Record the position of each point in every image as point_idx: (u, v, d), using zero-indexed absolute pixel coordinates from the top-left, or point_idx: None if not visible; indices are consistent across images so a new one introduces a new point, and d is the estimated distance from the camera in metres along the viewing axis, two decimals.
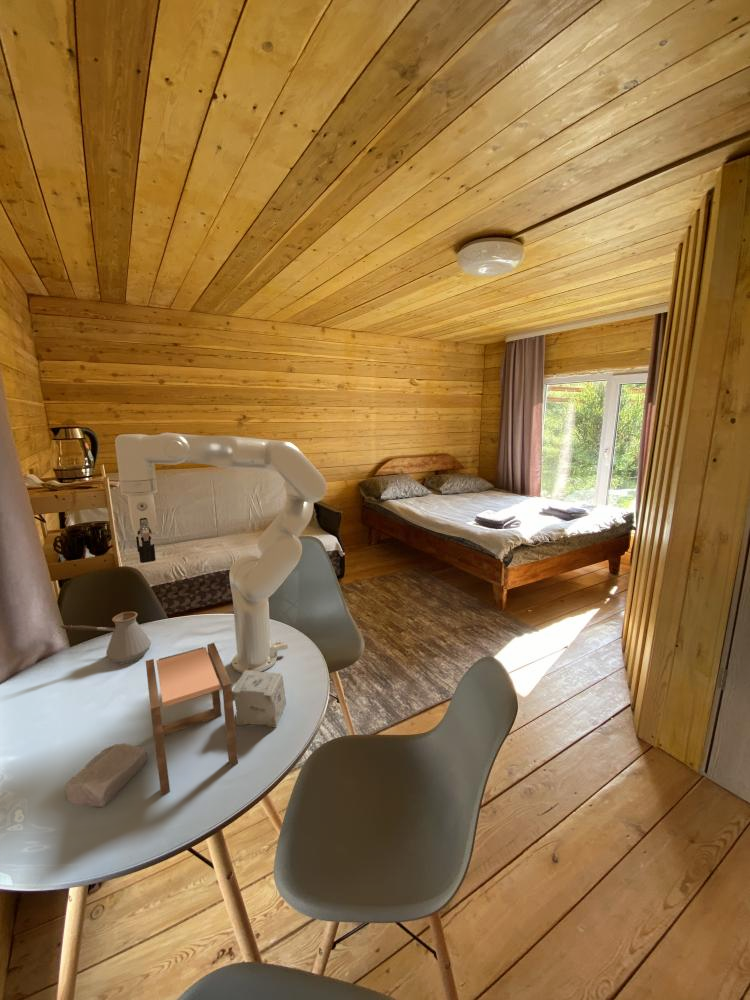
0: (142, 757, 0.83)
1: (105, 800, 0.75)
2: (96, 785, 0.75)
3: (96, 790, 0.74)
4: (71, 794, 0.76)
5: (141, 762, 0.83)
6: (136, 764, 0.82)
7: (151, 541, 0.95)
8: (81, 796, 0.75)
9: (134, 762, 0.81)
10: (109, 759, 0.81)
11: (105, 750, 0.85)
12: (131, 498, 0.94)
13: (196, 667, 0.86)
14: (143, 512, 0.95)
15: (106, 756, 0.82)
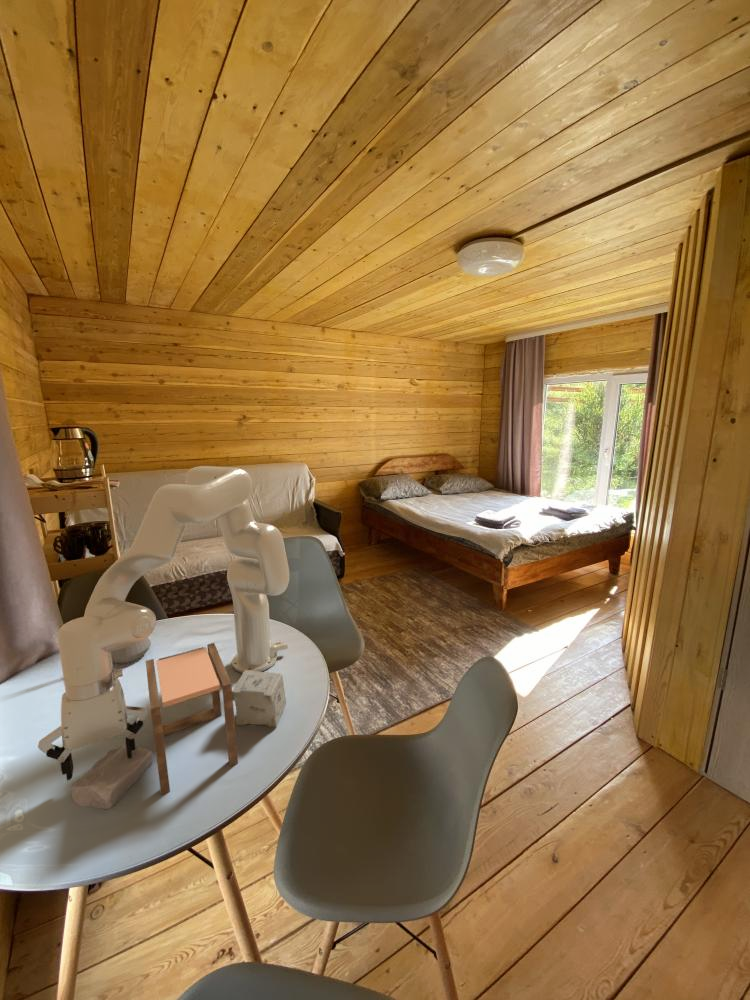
0: (148, 759, 0.83)
1: (111, 803, 0.75)
2: (103, 788, 0.75)
3: (103, 792, 0.74)
4: (77, 796, 0.75)
5: (147, 764, 0.83)
6: (142, 766, 0.82)
7: None
8: (87, 798, 0.75)
9: (140, 764, 0.81)
10: (115, 761, 0.81)
11: (111, 752, 0.84)
12: (115, 691, 0.78)
13: (196, 667, 0.86)
14: (124, 699, 0.81)
15: (112, 758, 0.82)
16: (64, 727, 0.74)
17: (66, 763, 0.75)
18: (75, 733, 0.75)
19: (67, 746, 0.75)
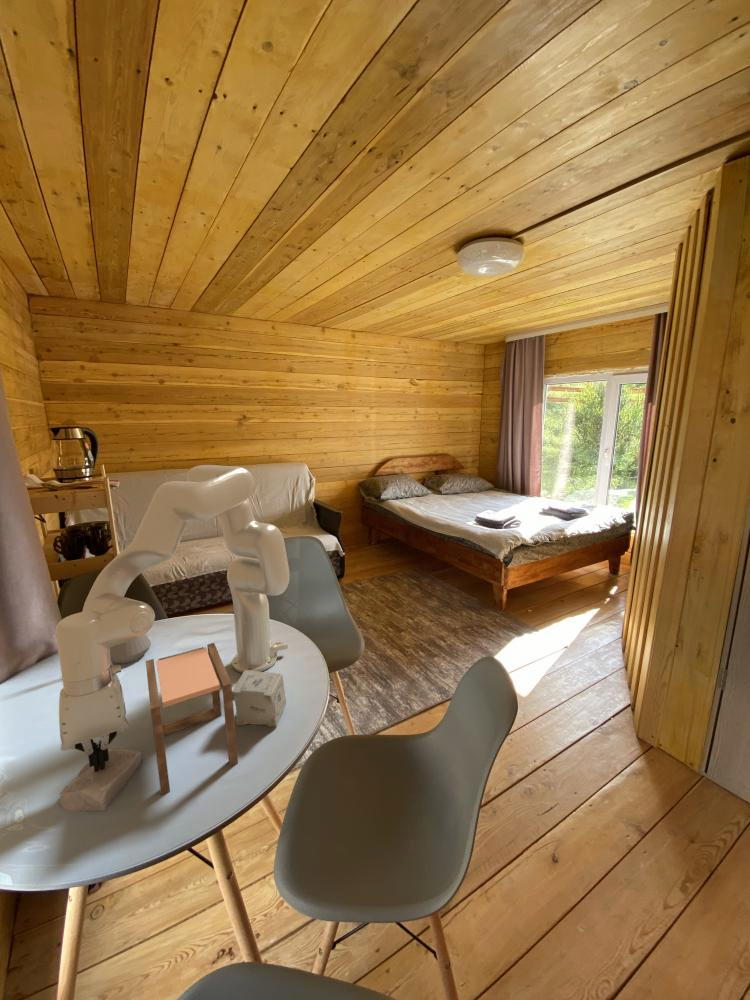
0: (137, 760, 0.83)
1: (106, 804, 0.74)
2: (96, 790, 0.74)
3: (97, 794, 0.74)
4: (67, 802, 0.74)
5: (136, 764, 0.83)
6: (132, 767, 0.82)
7: None
8: (79, 803, 0.74)
9: (130, 765, 0.81)
10: None
11: None
12: (114, 687, 0.77)
13: (196, 667, 0.86)
14: (122, 695, 0.80)
15: None
16: (62, 723, 0.74)
17: (94, 755, 0.77)
18: (73, 729, 0.74)
19: (65, 742, 0.74)
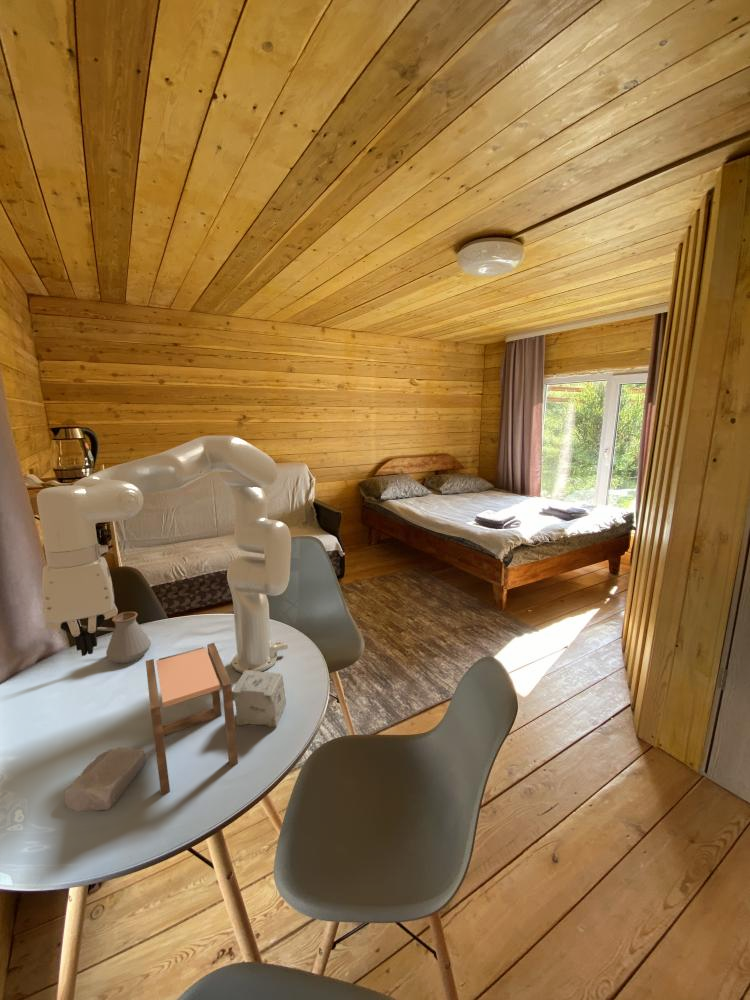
0: (142, 758, 0.83)
1: (110, 803, 0.74)
2: (101, 789, 0.74)
3: (102, 793, 0.74)
4: (72, 801, 0.74)
5: (140, 763, 0.83)
6: (136, 766, 0.82)
7: None
8: (84, 802, 0.74)
9: (134, 764, 0.81)
10: (108, 763, 0.80)
11: (100, 756, 0.83)
12: (100, 566, 0.73)
13: (196, 667, 0.86)
14: (110, 578, 0.76)
15: (104, 761, 0.81)
16: (46, 597, 0.70)
17: (81, 637, 0.74)
18: (58, 605, 0.71)
19: (49, 619, 0.71)
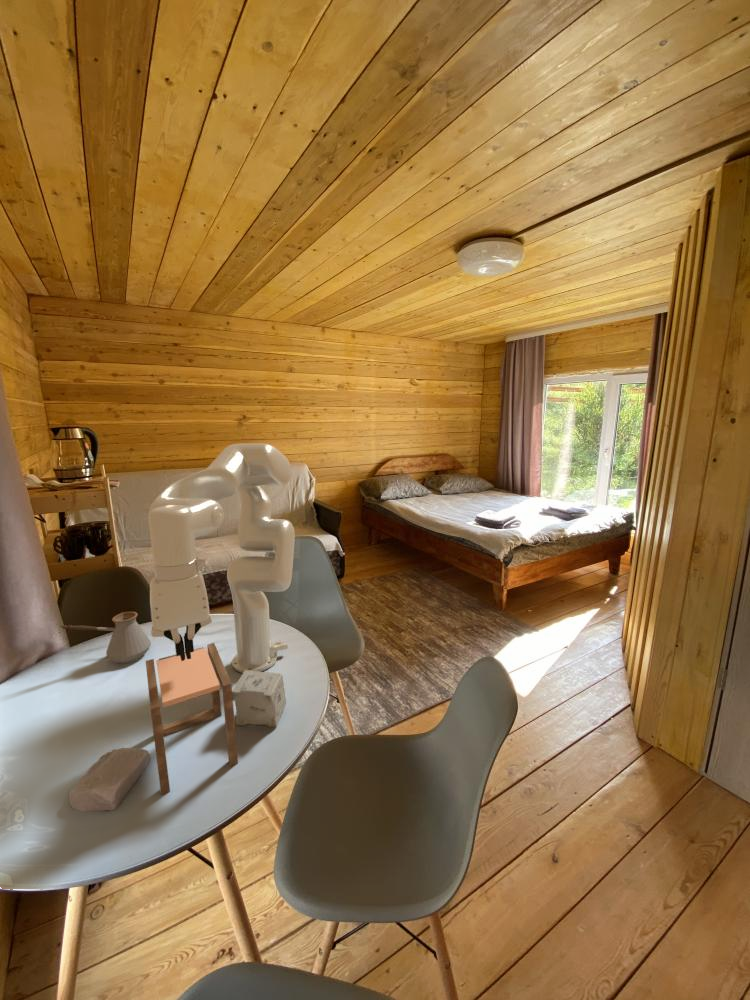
0: (146, 759, 0.83)
1: (115, 803, 0.74)
2: (106, 789, 0.74)
3: (107, 793, 0.74)
4: (77, 802, 0.74)
5: (145, 763, 0.83)
6: (141, 766, 0.81)
7: None
8: (89, 802, 0.74)
9: (139, 764, 0.81)
10: (112, 764, 0.80)
11: (104, 756, 0.83)
12: (200, 578, 0.80)
13: (196, 667, 0.86)
14: None
15: (108, 762, 0.81)
16: (155, 607, 0.77)
17: (181, 644, 0.80)
18: (164, 614, 0.77)
19: (157, 627, 0.77)
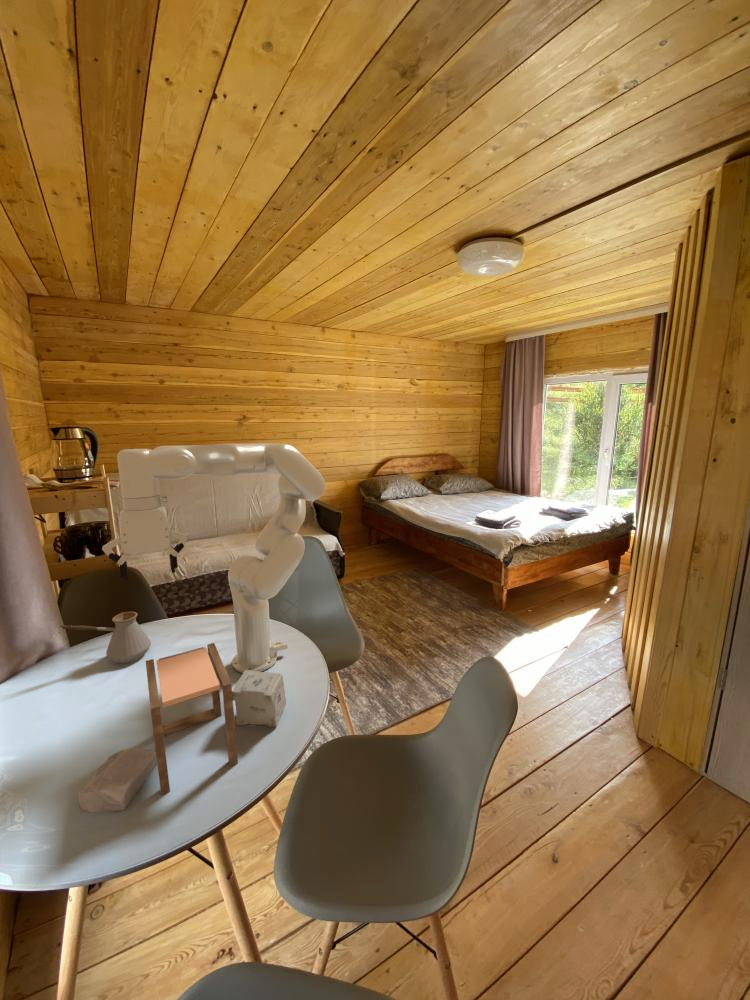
0: (154, 759, 0.83)
1: (125, 803, 0.74)
2: (115, 789, 0.74)
3: (116, 794, 0.74)
4: (86, 802, 0.74)
5: (153, 763, 0.83)
6: (149, 766, 0.81)
7: None
8: (98, 803, 0.74)
9: (147, 764, 0.81)
10: (120, 764, 0.80)
11: (111, 757, 0.83)
12: (162, 511, 0.95)
13: (196, 667, 0.86)
14: None
15: (116, 762, 0.81)
16: (123, 533, 0.91)
17: (124, 566, 0.92)
18: (131, 540, 0.92)
19: (125, 550, 0.92)
